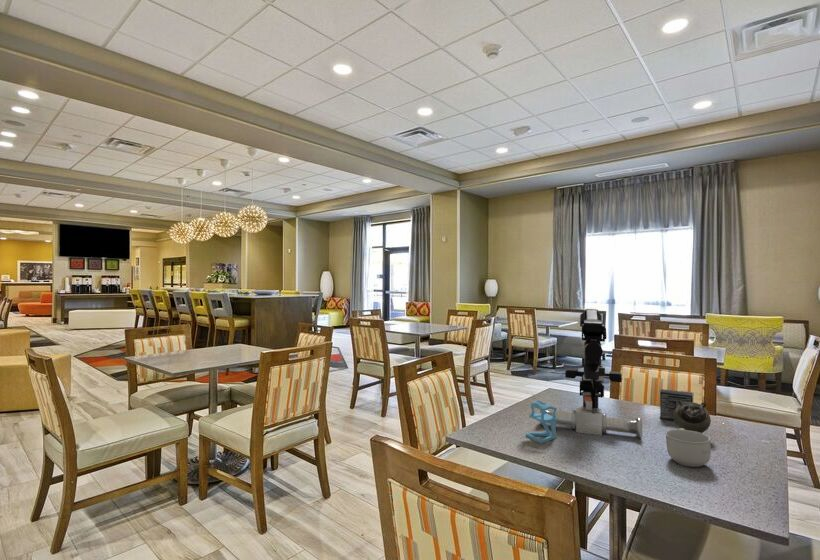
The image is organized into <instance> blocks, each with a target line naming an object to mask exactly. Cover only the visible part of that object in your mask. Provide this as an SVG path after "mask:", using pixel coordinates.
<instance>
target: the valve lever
mask: <svg viewBox="0 0 820 560" xmlns="http://www.w3.org/2000/svg"><path fill="white" fill-rule="evenodd" d="M582 392H583V391H582ZM583 400H585V403H586V410H592V400H591V394H590V392H583V396H582V401H583Z"/></svg>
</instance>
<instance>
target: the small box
mask: <svg viewBox="0 0 820 560" xmlns="http://www.w3.org/2000/svg"><path fill="white" fill-rule="evenodd" d="M659 395H660V397H659V401H660V403H659V404H660V405H659V408H660V409H659V410H660V413H659V419H660V420H664V421H670V422H671V421H672V422H675V421H674V411H675V409H676V407H677V406H678V405H679V399H680V400H683V402H693V401H694V399H693V397H694V396H693V392H690V391H679V390H672V389H663V388H660V390H659Z"/></svg>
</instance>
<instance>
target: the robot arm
mask: <svg viewBox="0 0 820 560" xmlns="http://www.w3.org/2000/svg"><path fill="white" fill-rule="evenodd" d="M579 317H580V318H579V326H580V327H581V341H584V343H583V346H584V347H583V348H584V349H583V351H584V355H583V357H584V358H583V359H584V365H583V371H582V370H581V371H579V369H578V368H570V367H568V368H567V369H566V370H565V372H564V377H565V378H566V379H576V377H580V378H581V379H580V380H579V397H580V396H581V397H583V392H590V394H591V400H592V408H595V409H600V408H599V398H604V397H605V385H604V380H605V379H607V380H610V382H613V383H622V382H623V381H622V380H623V374H622V373H621V371H611V370H610V371H609V373H606V367H605V365H602V356H603V353H604V352H603V351H604V350H603V347H602V343H603V342H606V340H607V328H606V326H605V324H603V316H602V314H601V313H600V312H599V309H597V308H586V309H584V312H582V313H581V314H580V315H579ZM601 342H602V343H601ZM582 407H586V403H585V400H583V399H582Z"/></svg>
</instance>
